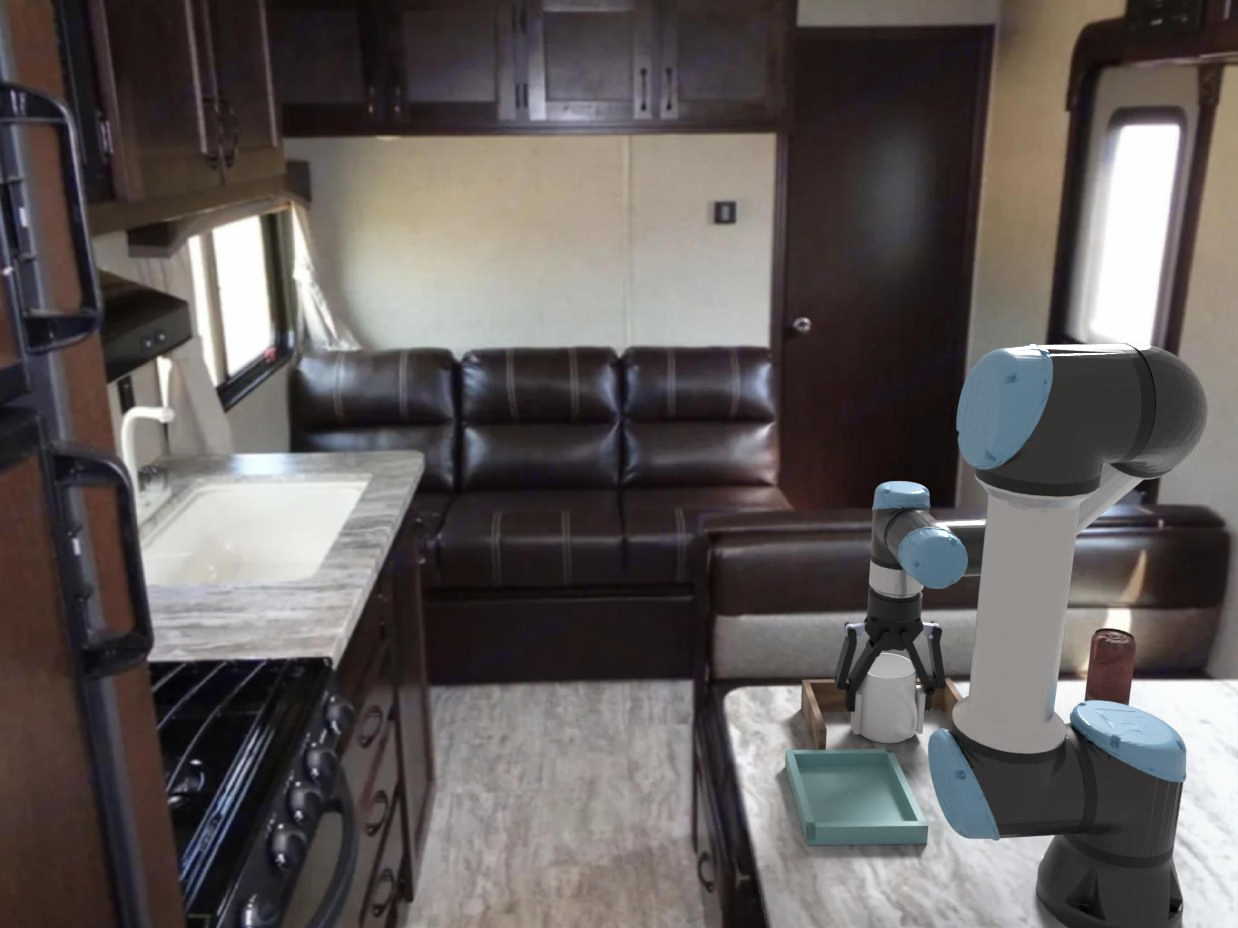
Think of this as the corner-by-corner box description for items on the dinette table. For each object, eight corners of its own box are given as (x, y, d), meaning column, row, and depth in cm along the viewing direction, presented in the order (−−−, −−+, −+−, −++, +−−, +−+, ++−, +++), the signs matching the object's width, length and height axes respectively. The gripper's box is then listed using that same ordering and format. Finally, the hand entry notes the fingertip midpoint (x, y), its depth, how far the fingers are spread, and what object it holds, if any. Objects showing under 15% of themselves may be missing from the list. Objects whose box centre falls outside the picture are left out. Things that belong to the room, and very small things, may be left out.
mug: (887, 761, 148) (891, 693, 145) (843, 721, 159) (846, 657, 156) (938, 749, 150) (943, 683, 148) (891, 711, 161) (895, 648, 159)
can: (1072, 714, 160) (1081, 631, 156) (1102, 705, 162) (1112, 623, 158) (1105, 733, 154) (1115, 647, 151) (1135, 723, 157) (1146, 638, 153)
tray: (927, 843, 130) (928, 825, 129) (807, 845, 130) (807, 826, 129) (890, 764, 147) (891, 748, 146) (785, 766, 147) (785, 750, 146)
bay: (979, 758, 148) (981, 726, 147) (818, 760, 148) (819, 728, 147) (947, 706, 163) (949, 677, 161) (801, 708, 163) (802, 679, 162)
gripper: (962, 577, 152) (950, 715, 158) (816, 579, 152) (810, 717, 158) (979, 598, 145) (966, 741, 151) (825, 599, 145) (819, 743, 151)
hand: (886, 729), depth 154 cm, fingers closed on mug, 9 cm apart
